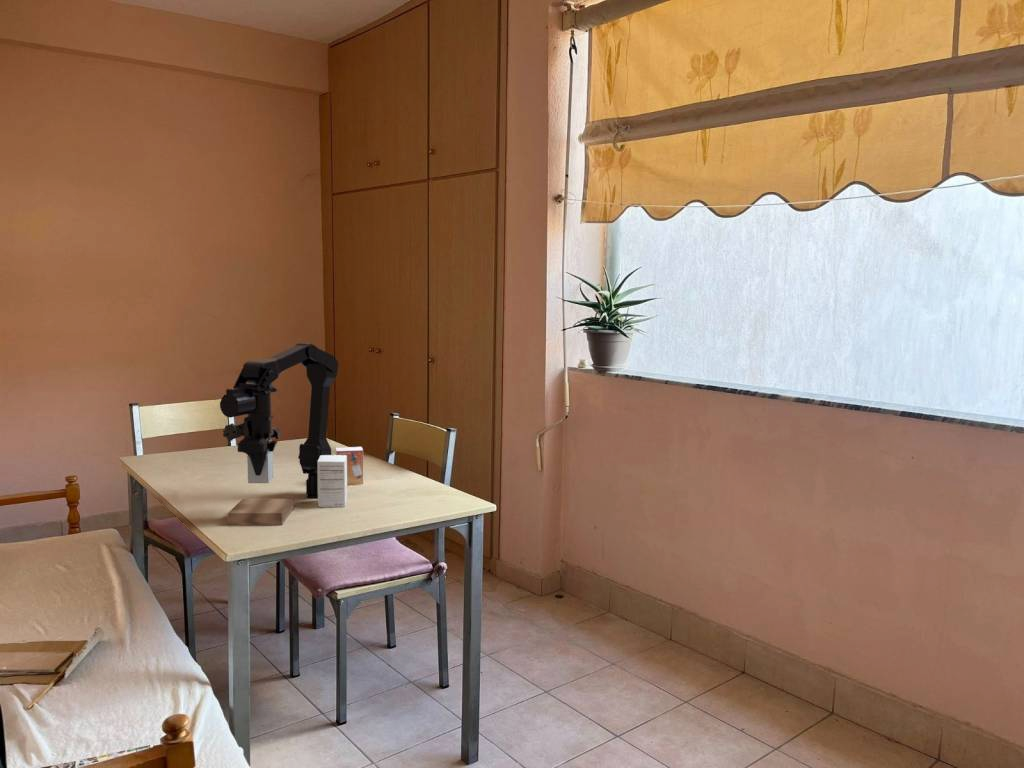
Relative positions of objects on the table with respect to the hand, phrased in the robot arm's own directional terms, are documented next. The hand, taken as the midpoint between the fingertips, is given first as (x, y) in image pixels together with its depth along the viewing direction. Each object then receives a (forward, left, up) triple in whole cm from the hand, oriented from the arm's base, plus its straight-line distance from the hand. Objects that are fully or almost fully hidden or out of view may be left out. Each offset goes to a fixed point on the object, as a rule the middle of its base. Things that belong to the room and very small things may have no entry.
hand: (260, 472), depth 198 cm
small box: (-17, -35, -12) cm, 41 cm away
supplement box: (-16, -12, -12) cm, 23 cm away
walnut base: (0, 0, -12) cm, 12 cm away
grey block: (0, 0, -2) cm, 2 cm away
